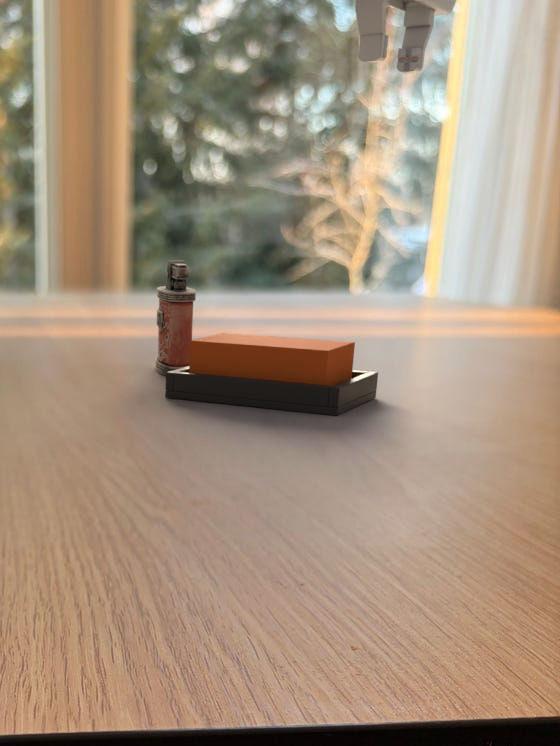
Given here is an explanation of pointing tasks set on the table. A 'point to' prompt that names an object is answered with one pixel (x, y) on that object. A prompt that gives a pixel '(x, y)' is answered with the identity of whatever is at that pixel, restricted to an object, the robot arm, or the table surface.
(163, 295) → the lighter
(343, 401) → the frame
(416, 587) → the table surface
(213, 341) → the block
